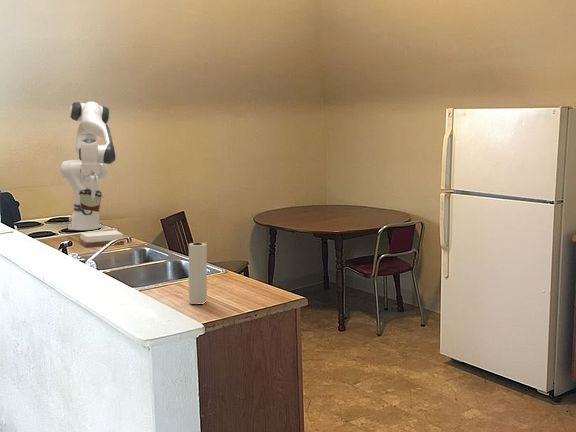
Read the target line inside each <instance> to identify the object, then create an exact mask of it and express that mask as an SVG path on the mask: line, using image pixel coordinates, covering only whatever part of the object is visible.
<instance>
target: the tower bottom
mask: <svg viewBox="0 0 576 432" xmlns="http://www.w3.org/2000/svg"><path fill="white" fill-rule="evenodd" d="M78 239H79V241H78V242H79V244H80V245H81V246H83V247H84V248H85V249H88V248H97V247H98V248H99V247H105V246H104V245H106V244H108V243H109V242H110V241H101V242H89V243H87V242H85V241H83V240H82V239H81V237H80V238H78ZM122 245H125V240H124V241H120V242H117V243H115V244H114V245H113V246H122Z"/></svg>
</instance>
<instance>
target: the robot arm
mask: <svg viewBox="0 0 576 432" xmlns="http://www.w3.org/2000/svg"><path fill="white" fill-rule="evenodd" d="M68 113H69V115H70V117H69V118H71V120H73V121H76V122H77V121H78V122H80V123H79V124H78V127H77V131H76V137H75V147H74V149H75V152H76V154H78V159H68V160H64V161H62V162H61V164H60V166H59V172H60V175H61V176H62V178H63V179H65V180H66V181H67V182H68V183H69V184H70V185H71V187H72V191H73V194H74V197H73V198H74V200H73V201H74V204H73V213H72V214H71V215H70V216H68V221H69V222H70V223H68V224H67V229H68V230H75V231H91V230H97V229H100V228H101V229H102V228H103V225H102V224H100V214H99V212H95V211H88V210H81V205H80V194H79V191H80V190H83V189H89V190H91V198H92V199H95V193H96V191H98V190H99V191H100V181H99V180H100V179H104V178H105V177H106V176H107V175H108V170H109V168H108V165H111V164H113V163H114V162H115V161H116V159H117V151H116V149H115V146H114V143H113V138H112V135H111V130H110V127H109V126H108V124H107V123H108V122H109V120H110V117H111V114H110V113H111V111H110V109H109V107H107V106H104V105H100V104H99V103H98V102H95V101H87V102H85V103H84V102H79V101H78V102H77V101H75V102H73V103H71V105H70V108H69V110H68ZM97 137H101V138H102V139H103V141H104V144H98V142H97ZM78 194H79V195H78Z"/></svg>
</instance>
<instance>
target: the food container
mask: <svg viewBox="0 0 576 432" xmlns="http://www.w3.org/2000/svg"><path fill="white" fill-rule="evenodd" d="M79 194H80V205H81V210H88V211H95V212H98V213H99V212H100V209H101V202H102V201H101V200H102V198H104V197H103V196H104V195H103V193H102V192H101V190H100V189H99V190H98V191H96V193H95V199H92V198H91V190H89V189H83V190H80V191H79ZM79 194H78V195H79Z"/></svg>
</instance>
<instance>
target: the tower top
mask: <svg viewBox="0 0 576 432" xmlns="http://www.w3.org/2000/svg"><path fill="white" fill-rule="evenodd" d="M79 234H80V235H79V236H80V238H81V239H82V240H83V241H85V242H87V243H89V242H101V241H112V240H115V239H118V238H121V237H123V238H124V234H123V233H122V232H120V231H118V230H116V229H114V230H113V229H112V230H102V231H100V230H99V231H88V232H85V231H84V232H80V233H79Z"/></svg>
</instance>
